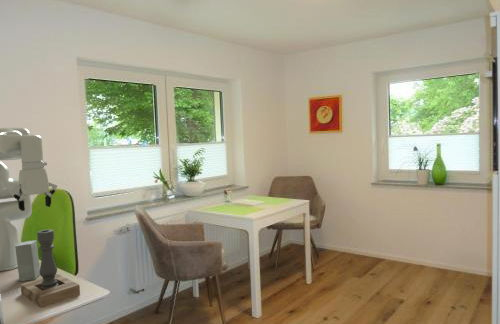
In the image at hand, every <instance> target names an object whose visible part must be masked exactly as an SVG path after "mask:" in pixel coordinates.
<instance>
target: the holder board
mask: <svg viewBox="0 0 500 324" xmlns="http://www.w3.org/2000/svg"><path fill="white" fill-rule="evenodd" d="M42 278H43V277H41V278H38V279H35V280H30V281H27V282H25V283H20V293H21V295H22V296H23V297H25V298H26V299H28V300H29V301H30V302H32V303H34V304H35V305H37V306H38V307H40V308H44V307H47V306H50V305H55V304H57V303H60V302H63V301H65V300H68V299H71V298H75V297H78V296H80V295H81V290H80V284H79V283H77V282H75V281H73V280H71V279H70V278H67V277H65V276H62V275H60V273H56V275H55V279H56V280H57V283H58V285H59V286H56V287H53V288H49V289H46V290H43V291H42V290H41V287H42V285H41V283H42V281H43V279H42Z"/></svg>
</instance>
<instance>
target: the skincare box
mask: <svg viewBox="0 0 500 324" xmlns="http://www.w3.org/2000/svg"><path fill="white" fill-rule="evenodd" d="M37 241H38V239H37V240H36V239H35V240H27V241H21V242H20V243H19V242H18V245H16V246H15V249H16V257H17V265H18V268H17V271H18V278H19V279H18V280H19V282H24V281H34V280H37V278H38V277H39V276H41V275H40V266H41V265H40V261H39V260H40V258H39V252H38V251H39V249H38V243H37Z"/></svg>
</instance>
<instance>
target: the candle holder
mask: <svg viewBox="0 0 500 324" xmlns="http://www.w3.org/2000/svg"><path fill="white" fill-rule="evenodd" d="M36 235H37V237H36V239H37V241H38V243H39V247H38V251H39V250H40V252H41V253H40V255H41V261H40V265H39V266H40V275H39V276H40V277H41V278H42V279H43V281H42V283H41V285H42V287H41V290H42V291H43V290H46V289H49V288H53V287H56V286H59V285H58V283H57V280H56V279H55V275H56V274H58V273H57V272H58V267H57V265H56V262H55V258H54V253H53V249H54V248H55V245H54V244H53V242H54V239H55V231H54V229H41V230H39V231H37V232H36Z"/></svg>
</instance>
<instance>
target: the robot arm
mask: <svg viewBox="0 0 500 324" xmlns="http://www.w3.org/2000/svg"><path fill="white" fill-rule="evenodd" d="M43 155H44V154H43V139H42V136H40V135H36V134H31V133H30V131H29V130H28V129H27V128H25V127H1V128H0V200H6V199H16V200H8V201H7V200H6V201H2V202H1V201H0V272H5V271H10V270H14V269H18V265H17V257H16V249H15V246H16V245H18V244H19V239H18V238H19V237H18V230H17V228H16V226H15V225H13V224H12V223H11V222H13V221H18V220H22V219H23V220H24V219H28V218H30V217H31V216H32V213H33V207H32V199H31V196H32V195H40V194H41V195H42V194H44V195H45V197H44V199H45V207H48V208H49V207H51V205H52V197H53V195H54V194H55V192H56V190H57V188H58V185H57V184H54V183H52V182H49V179H48V174H47V173H48V172H47V171H46V168H45V167H46V166H48V163H47V161H44V156H43ZM14 160H21V169H20V170H19V172H18V177H16V178H15V177H13V178H11V176H10V175H11V174H10V169H9V167H8V166H7V165H6V164H5V163H4V162H2V161H14ZM50 188H51V189H50Z"/></svg>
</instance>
